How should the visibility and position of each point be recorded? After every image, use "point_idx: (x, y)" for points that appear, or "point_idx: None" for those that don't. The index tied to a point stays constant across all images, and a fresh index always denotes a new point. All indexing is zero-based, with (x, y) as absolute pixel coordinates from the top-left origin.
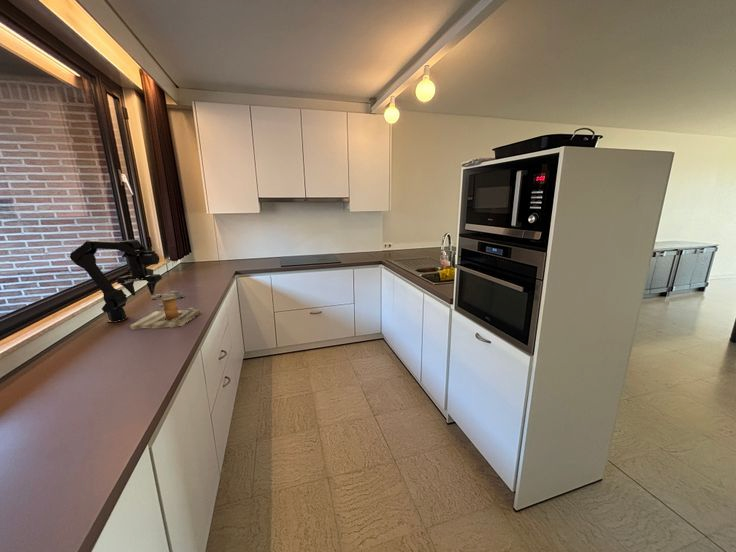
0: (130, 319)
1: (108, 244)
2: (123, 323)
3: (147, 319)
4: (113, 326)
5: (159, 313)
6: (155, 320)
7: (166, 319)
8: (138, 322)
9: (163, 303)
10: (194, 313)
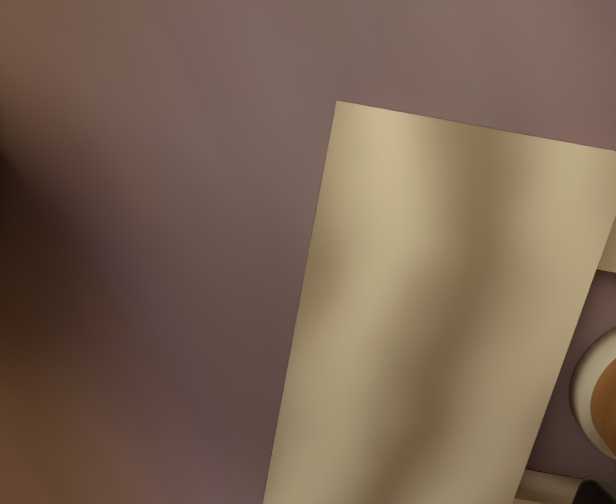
0: (67, 179)
1: None
2: (68, 302)
3: (377, 410)
4: (11, 363)
5: (454, 222)
6: (495, 475)
7: (604, 441)
8: (312, 477)
9: None
10: None
